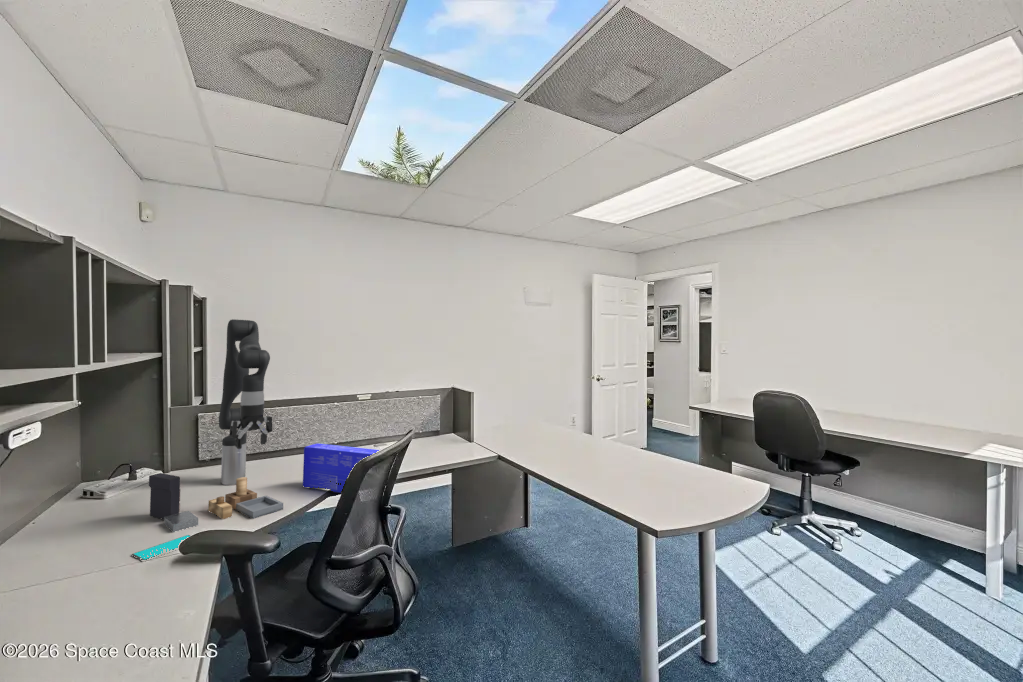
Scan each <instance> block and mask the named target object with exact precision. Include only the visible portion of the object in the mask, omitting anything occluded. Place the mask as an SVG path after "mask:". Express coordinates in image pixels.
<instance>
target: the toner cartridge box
mask: <svg viewBox="0 0 1023 682" xmlns="http://www.w3.org/2000/svg"><path fill="white" fill-rule="evenodd" d="M379 450H380V449H375V448H368V447H367V448H365V447H355V446H346V445H345V446H344V445H337V444H326V443H319V442H318V443H313V444H310V445H306V446H304V447H303V464H302V465H303V467H302V468H303V470H302V487H303V486H304V487H310V488H313V487H314V488H318V487H319V488H325V489H326V488H327V489H331V491H333V492H332V493H338V494H342V493H341V491H342V489H343V486H344V484H345V481H346V479H347V477H348V475H349V473H350V471H351V470H352V468H353V467H354V465H355V464H356V463H358V462H359V461H360V460H362V459H363V458H365V457H367V456H370V455H372V454H373V453H376V452H377V451H379ZM330 481H331V482H330ZM336 483H337V484H336ZM338 483H339V485H338ZM340 483H341V485H340Z"/></svg>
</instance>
